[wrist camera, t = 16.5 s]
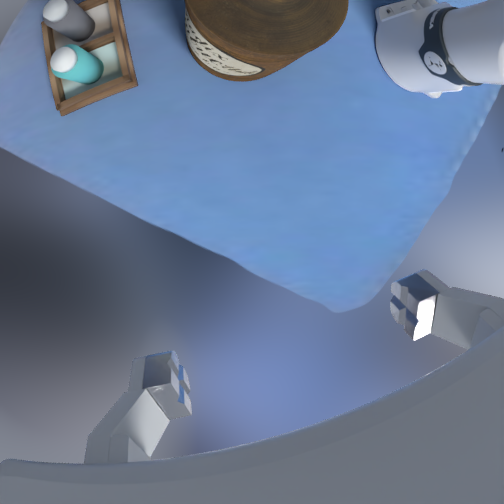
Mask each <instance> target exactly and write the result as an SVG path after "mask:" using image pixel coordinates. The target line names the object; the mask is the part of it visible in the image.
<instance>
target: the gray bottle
mask: <svg viewBox="0 0 504 504" xmlns="http://www.w3.org/2000/svg"><path fill="white" fill-rule="evenodd" d="M43 16H44V23H45V24H46V25H47V26H49V27H51V28H52V29H54V30H56V31H57V32H59V33H61V34H63V35H64V36H66V37H68V38H69V39H71V40H73V41H74V42H82V41H85V40H87V39H88V38H89V37H90V36H91V35H92V34H93V32H94V30H95V21H94V20H93V19H92V18H91V17H90V16H89V15H88V14H87V13H86V12H85V11H84V10H83V9H82V8H80V7H79V6H78V5H77V4H76V3H75V2H74V1H73V0H50V1H49V2H48V3H47V4H46V5H45V7H44V9H43Z"/></svg>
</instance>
